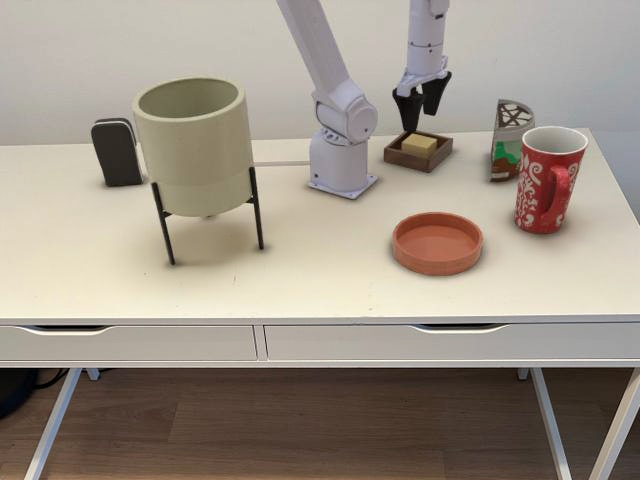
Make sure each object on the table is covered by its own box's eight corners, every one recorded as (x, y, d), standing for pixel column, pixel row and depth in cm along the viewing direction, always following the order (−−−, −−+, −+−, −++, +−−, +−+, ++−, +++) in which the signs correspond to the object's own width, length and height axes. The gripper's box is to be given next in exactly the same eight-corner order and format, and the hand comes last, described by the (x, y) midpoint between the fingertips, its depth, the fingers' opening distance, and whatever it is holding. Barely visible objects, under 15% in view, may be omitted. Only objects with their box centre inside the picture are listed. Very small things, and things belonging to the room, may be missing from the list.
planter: (253, 207, 110) (236, 66, 95) (270, 260, 99) (253, 110, 83) (163, 222, 109) (129, 81, 93) (169, 278, 97) (132, 128, 81)
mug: (503, 206, 106) (517, 125, 97) (561, 205, 105) (581, 124, 96) (514, 251, 97) (531, 167, 88) (578, 251, 96) (601, 166, 87)
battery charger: (146, 174, 121) (131, 113, 113) (143, 184, 118) (128, 123, 110) (108, 177, 121) (91, 116, 113) (104, 187, 118) (86, 126, 111)
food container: (528, 188, 110) (539, 130, 103) (490, 186, 111) (499, 129, 104) (525, 153, 119) (535, 98, 112) (490, 152, 120) (498, 97, 113)
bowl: (376, 258, 98) (376, 244, 96) (417, 217, 105) (418, 203, 104) (457, 285, 92) (459, 271, 90) (494, 240, 100) (496, 226, 98)
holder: (383, 161, 120) (383, 148, 118) (407, 140, 125) (408, 128, 123) (429, 173, 115) (430, 159, 114) (452, 151, 121) (453, 138, 119)
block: (401, 155, 120) (401, 142, 118) (411, 146, 122) (412, 133, 120) (426, 161, 118) (427, 148, 116) (436, 152, 120) (437, 139, 118)
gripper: (427, 59, 100) (421, 144, 110) (467, 30, 109) (458, 111, 118) (386, 52, 104) (384, 135, 113) (428, 25, 112) (423, 104, 121)
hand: (419, 122), depth 116 cm, fingers open, 7 cm apart
